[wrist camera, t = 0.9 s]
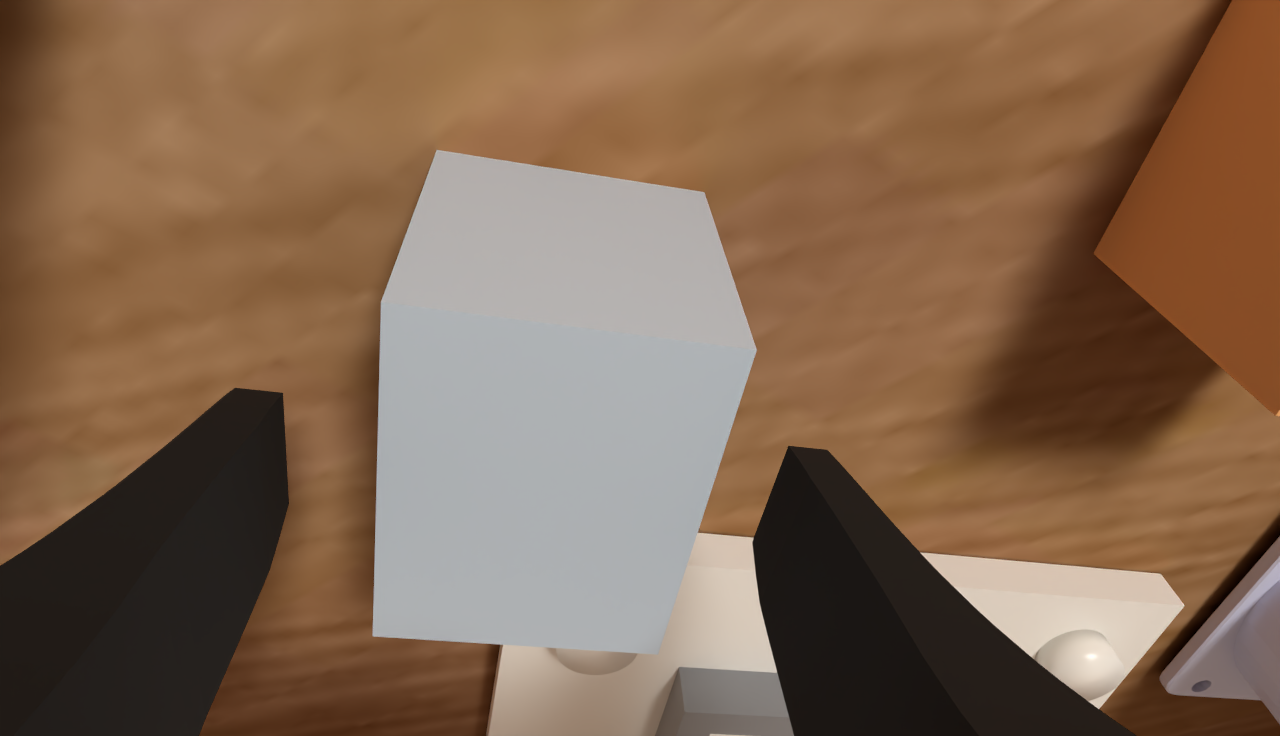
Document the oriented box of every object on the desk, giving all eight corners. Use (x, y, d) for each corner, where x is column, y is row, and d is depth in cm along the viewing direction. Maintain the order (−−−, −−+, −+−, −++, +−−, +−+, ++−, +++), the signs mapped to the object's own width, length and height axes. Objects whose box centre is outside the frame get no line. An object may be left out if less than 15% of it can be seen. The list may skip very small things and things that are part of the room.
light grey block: (703, 190, 14) (756, 350, 10) (637, 454, 18) (657, 654, 14) (437, 148, 14) (380, 301, 10) (420, 431, 17) (372, 636, 13)
